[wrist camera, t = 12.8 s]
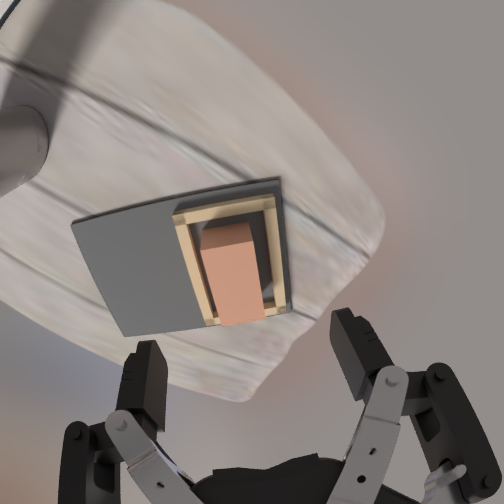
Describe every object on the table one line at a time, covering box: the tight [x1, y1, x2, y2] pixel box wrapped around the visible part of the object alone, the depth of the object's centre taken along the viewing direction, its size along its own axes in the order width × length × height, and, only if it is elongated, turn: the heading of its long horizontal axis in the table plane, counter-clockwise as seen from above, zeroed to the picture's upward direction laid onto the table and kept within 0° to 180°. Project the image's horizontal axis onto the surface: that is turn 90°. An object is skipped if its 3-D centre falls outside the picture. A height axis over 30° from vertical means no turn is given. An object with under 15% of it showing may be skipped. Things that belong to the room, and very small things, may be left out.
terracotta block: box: [200, 222, 266, 326], centre depth 31 cm, size 10×5×4 cm, turn 8°
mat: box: [70, 179, 291, 337], centre depth 32 cm, size 24×18×2 cm
